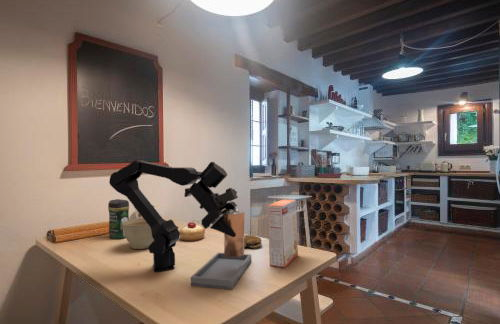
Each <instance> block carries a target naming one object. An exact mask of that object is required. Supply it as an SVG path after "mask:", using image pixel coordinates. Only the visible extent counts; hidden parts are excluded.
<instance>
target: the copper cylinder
mask: <svg viewBox="0 0 500 324" xmlns="http://www.w3.org/2000/svg"><path fill="white" fill-rule="evenodd" d="M225 213H226V220H227V222H228V223H229V225H230V226H231V228H232V229H233V231H234V232H235V234H236V236H235V237H231V236H229V235H227V234H225V233H223V239H224V240H223V253H224V255H225V256H228V257H240V256H242V255H244V254H245V247H244V235H245V211H244V210H240V209H238V208H236V209H235V210H229V211H226V212H225ZM225 213H224V214H225Z"/></svg>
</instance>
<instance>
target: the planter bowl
mask: <svg viewBox="0 0 500 324" xmlns="http://www.w3.org/2000/svg"><path fill="white" fill-rule="evenodd" d="M122 225H123V231H124V235H125V237H126V238H125V239H126V241H127V243H129V244H130V247H131V248H132V249H135V250H143V249H144V250H145V249H148V247H149V246H150V244H151V243H152V242H153V241H154V239H153V237H152V232H151V228H150V226H149V225H148V224H147V222H146V221H145V220H144V218H143V217H142V218H134V219H133V218H132V219H129V220H128V221H125V222H123V223H122Z"/></svg>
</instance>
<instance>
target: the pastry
mask: <svg viewBox="0 0 500 324" xmlns="http://www.w3.org/2000/svg"><path fill="white" fill-rule="evenodd" d="M194 221H197V223H200V221H199V219H193V220H192V221H191V222H188V223H187V226H184V227H183V226H182V227H181V228H180V229H179V232H180V237H179V238H180V239H182V241H185V242H195V241H196V242H197V241H200V240H202V239H203V238H204V237H205V233H206V229H205V228H204V227H203V226H202V225H197V224H196V223H195V222H194Z"/></svg>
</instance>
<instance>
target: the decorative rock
mask: <svg viewBox="0 0 500 324" xmlns="http://www.w3.org/2000/svg"><path fill="white" fill-rule="evenodd" d="M262 241H263V240H262V239H261V237H259V236H257V235H254V234H253V235H252V234H249V235H248V234H247V235H246V234H244V248H246V247H247V248H249V249H253V250H256V249H258V248H260V247H261V246H262Z"/></svg>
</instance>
